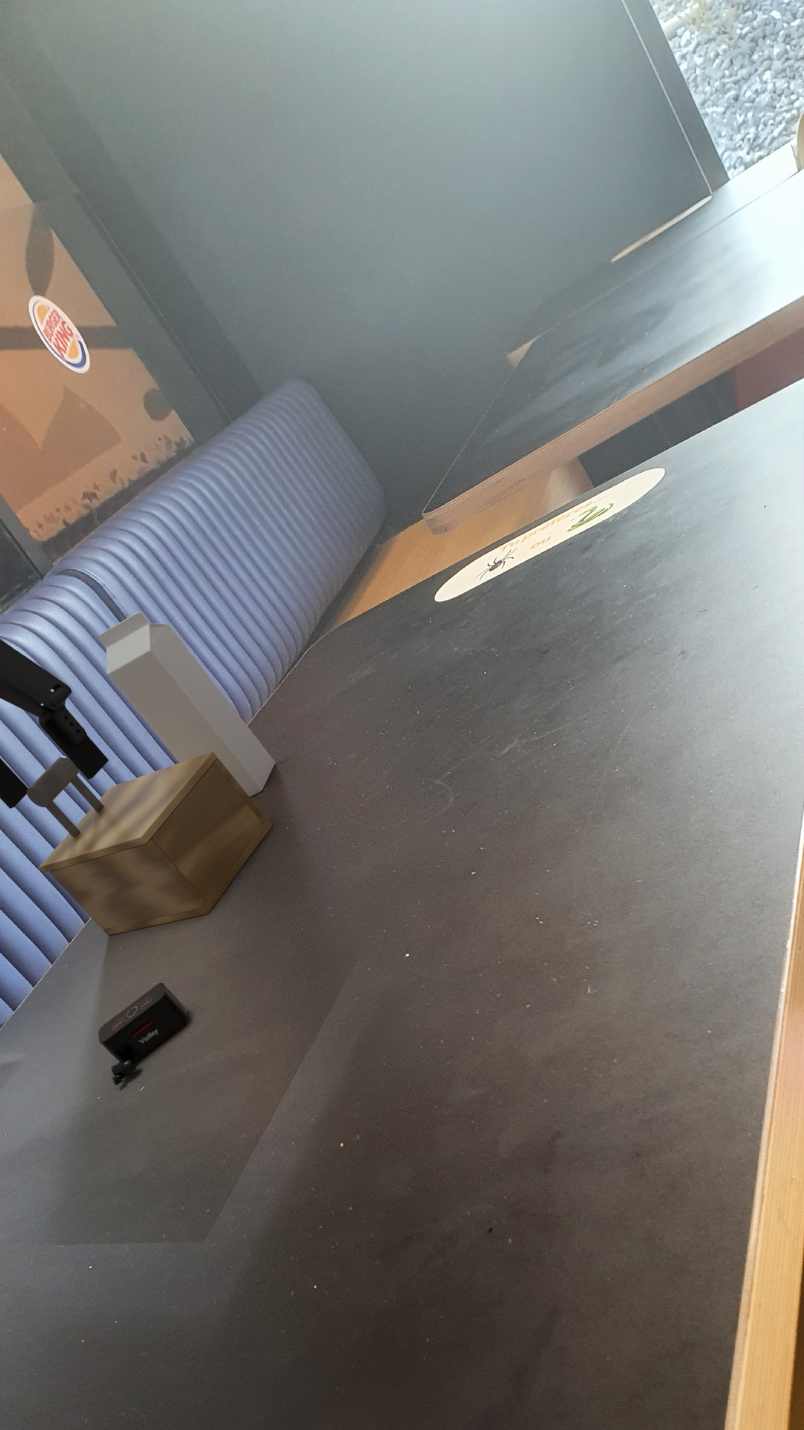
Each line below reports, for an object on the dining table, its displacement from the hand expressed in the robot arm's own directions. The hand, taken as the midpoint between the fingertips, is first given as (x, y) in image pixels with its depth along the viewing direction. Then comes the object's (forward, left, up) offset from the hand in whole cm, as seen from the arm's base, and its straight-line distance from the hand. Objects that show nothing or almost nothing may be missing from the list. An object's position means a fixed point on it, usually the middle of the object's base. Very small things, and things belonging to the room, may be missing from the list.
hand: (58, 785), depth 113 cm
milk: (+3, +16, -14) cm, 22 cm away
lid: (+6, 0, -5) cm, 8 cm away
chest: (+6, 0, -14) cm, 16 cm away
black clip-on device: (+20, -23, -14) cm, 34 cm away
